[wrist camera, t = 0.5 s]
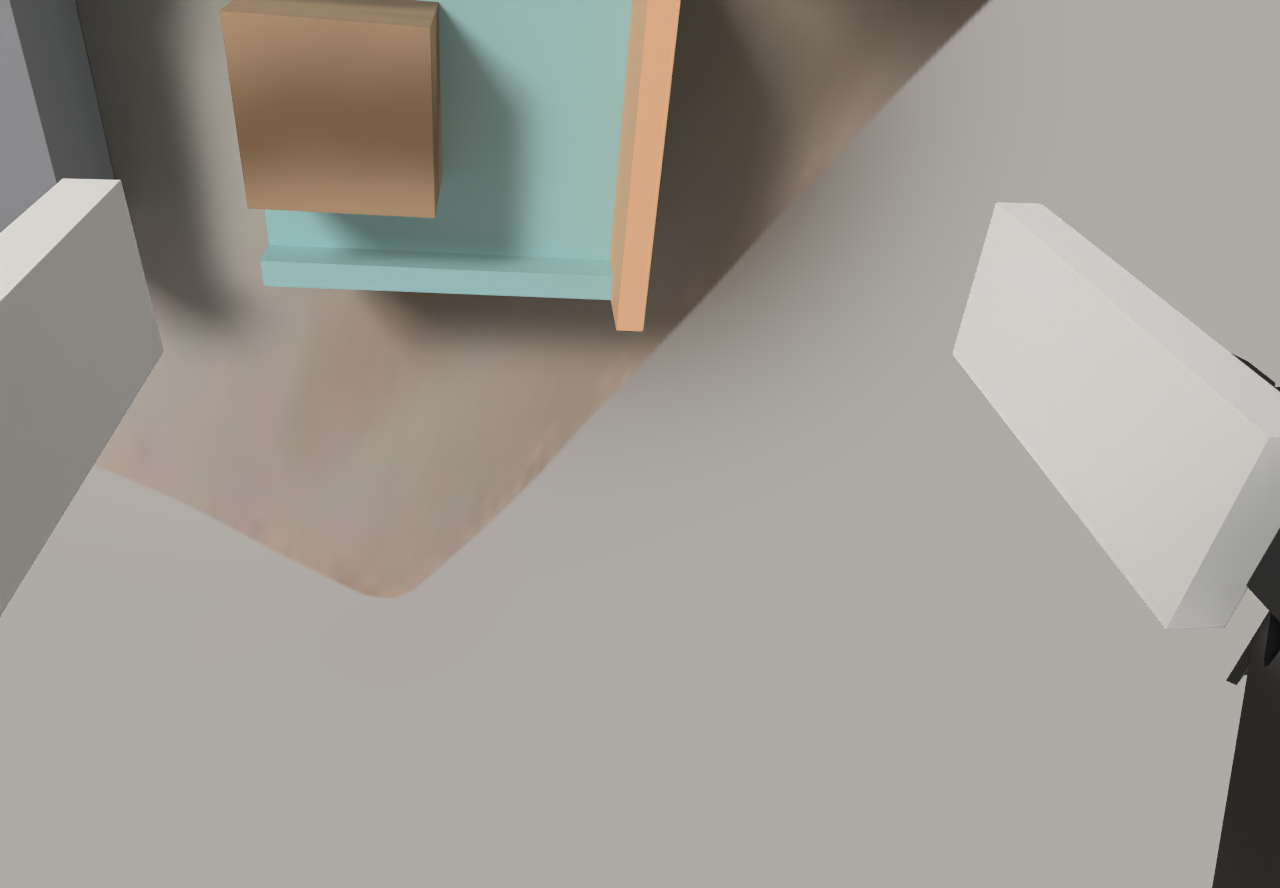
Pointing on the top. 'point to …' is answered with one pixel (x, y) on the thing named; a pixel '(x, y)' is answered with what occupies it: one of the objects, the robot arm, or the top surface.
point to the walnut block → (337, 104)
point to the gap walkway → (471, 153)
